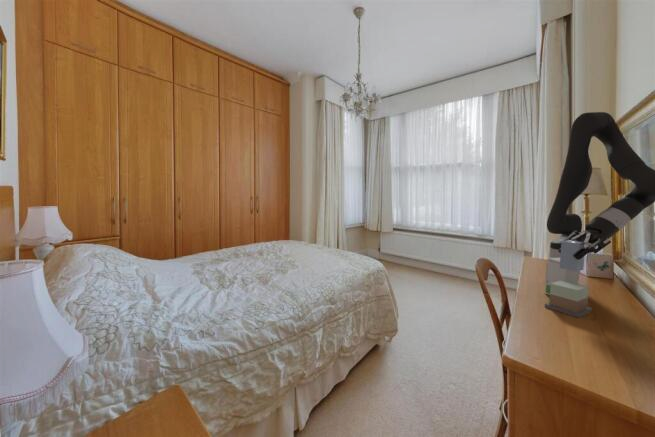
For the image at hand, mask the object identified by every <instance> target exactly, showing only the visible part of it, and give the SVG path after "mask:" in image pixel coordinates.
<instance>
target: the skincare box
mask: <svg viewBox="0 0 655 437" xmlns="http://www.w3.org/2000/svg"><path fill="white" fill-rule="evenodd" d="M547 260H548V261H547V263H548V267H547V266H546V268H547V277H546V276H545V286H544V287H545V288H544V294H545V295H548V296H550V287H551V283H554V282H557V281H560V280H563V281H567V282H572V283H576V284H579V281H580V273H581V271H577V272H576V271H571V270H566V269H561V268H560V258H549V257H548V258H547Z"/></svg>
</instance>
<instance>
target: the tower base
mask: <svg viewBox="0 0 655 437" xmlns="http://www.w3.org/2000/svg"><path fill="white" fill-rule="evenodd" d="M588 299H589V286H588V285H584V284H580V283H578V284H576V283H572V282H567V281H563V280H560V281H557V282H554V283H551V287H550V295H549V301H548V302H545V303H544V308H547V309H550V310H553V311H556V312H559V313H563V314H565V315H569V316H571V317H572V316H573V317H574V318H579V319H580V318H582V317H583V316H586V315H587V314H589V313H591V312H592V311H593V310H592V309H593V308H592V307H589V306H588Z"/></svg>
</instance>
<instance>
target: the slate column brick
mask: <svg viewBox="0 0 655 437" xmlns="http://www.w3.org/2000/svg"><path fill="white" fill-rule="evenodd" d="M583 246H584V242H580V241H572V240H566V241H562V242H561V255H560V268H561V269H566V270H571V271H576V272H577V271H580V272H581V271H583V270H584V267H585V266H584V265H585V256H584V257H583V258H581V259H580V260H577V259H576V258H575V257H573V255H574V254H575V253H576V252H577V251H579V250H580V249H581V248H582V249H583Z"/></svg>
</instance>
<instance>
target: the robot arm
mask: <svg viewBox="0 0 655 437" xmlns="http://www.w3.org/2000/svg"><path fill="white" fill-rule="evenodd" d="M594 137H595V138H597V139H598V140H599V141H600V142H601V143H602V144H603V146H604V148H605V150H606V156H607V161H608V163H609V164H610V166H611V167H612V168H613V170H614V171H615V172H616V173H617V175H619V177H620V178H621V179H623V180H627V181H628V180H629V181H631V182H632V183H633V184H634V185H635V186H634V187H633V188H632V189H631V190H630V191H629V192H628V193H627V194H625V195H624V196H623V197H621V198H619V199H617V200H616V201H615V202H614V203H612V204H611V205H610V206H608V207H607V208H605V209H604V210H602V211H601V212H600V213H599V214H597V215H596V216H594V218H592V219H591V220H590V221H588V222H587V223H586V224H585V226H584V227H585V230H583V222H582V221H583V220H582V218H581V216H579V215H578V214H577V213H568V210H569V208H570V206H571V205H572V203H573V202H574V201H576V199H577V198H579V197H580V195H582V194H583V192H584V191H585V190H586V189H587V188H588V186H589V184H590V181H591V177H592V174H593V166H592V161H591V159H590V154H589V149H590V144H591V141H592V138H594ZM563 165H564V166H563V168H562V171H561V172H562V173H561V175H560V180H559V183H558V184H559V185H558V189H557V191H556V196H555V199H554V202H553V204H552V207H551V208H550V211H549V214H548V217H547V221H546V229H547V231H548V232H549V233H550V234H553V235H554V234H555V235H561V236H560V237H559V238H557V239H554V240H552V241H551V242H550V245H549V257H548V258H560V255H561V242H562V241H566V240H572V241H580V242H584V246H583V249H582V248H581V249H580V250H579V251H577V252H576V253H575V254H574V255H573V257H575V258H576V259H577V260H580V259H581V258H583V257H584V258H585V256H586V255H588V254H592V253H594V254H598V253H599V252H601V251H602V250H603V249H604V248H606V246H608V245H610V244H611V243H612V241H611V240H610V239H611V238H612V237H614V235H616V234H617V233H619V231H621V230H623V229H624V228H625V227H626V226H627V225H628V224H629V223H630V222H631V221H632V220H633V219H635V218H636V217H637V216H639V215H640V214H641V213H642V212H643V211H644V210H645V209H646V208H648V207H649V206H651V205H652V204H654V203H655V169H653V168H652V167H650V166H648V165H647V164H646V162H645V161H644V160H643V159H642V158H641V157H640V156H639V155H638V154H637V152H636V151H635V150H634V149H633V148H632V147H631V145H630V144H629V142H628V141H627V140H626V138H625V136H624V134H623V133H622V131H621V129H620V128H619V126H618V124H617V122H616V120H615V119H614V118H613V116H612V115H611V114H610V113H608V112H605V111H593V112H584V113H581V114H579V115H578V116H577V117H575V119H574V120H573V122H572V124H571V127H570V134H569V142H568V148H567V153H566V157H565V161H564V164H563ZM582 230H583V231H582ZM547 267H548V262H547V263H546V270H545V278H546V277H547Z"/></svg>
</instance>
